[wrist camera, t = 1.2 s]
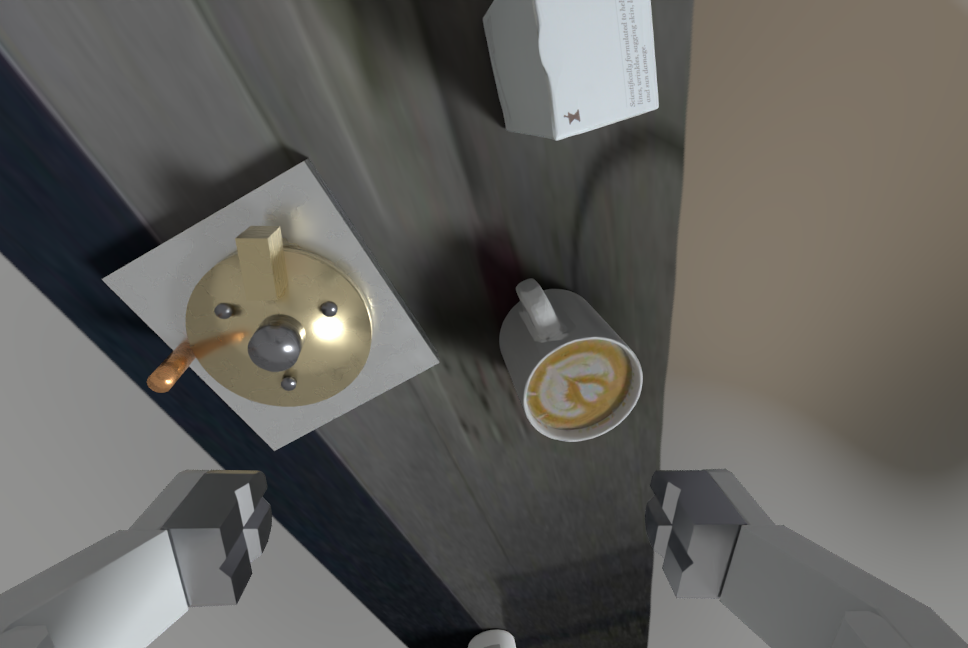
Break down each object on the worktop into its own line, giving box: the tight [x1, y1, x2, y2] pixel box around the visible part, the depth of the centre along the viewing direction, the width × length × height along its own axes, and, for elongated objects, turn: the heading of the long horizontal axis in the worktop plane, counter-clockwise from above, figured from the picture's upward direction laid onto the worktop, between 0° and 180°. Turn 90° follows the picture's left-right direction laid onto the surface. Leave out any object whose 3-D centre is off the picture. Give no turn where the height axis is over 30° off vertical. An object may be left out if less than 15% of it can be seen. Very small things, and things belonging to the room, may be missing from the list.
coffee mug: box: [499, 279, 643, 442], centre depth 40 cm, size 13×10×10 cm
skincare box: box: [483, 0, 659, 140], centre depth 28 cm, size 8×6×15 cm
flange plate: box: [186, 226, 373, 407], centre depth 36 cm, size 16×14×5 cm
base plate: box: [102, 158, 440, 451], centre depth 37 cm, size 20×18×7 cm
